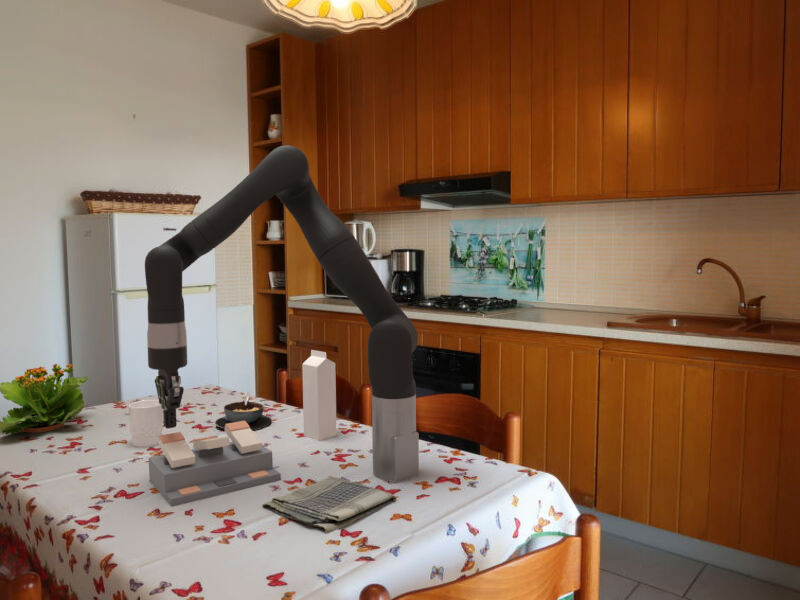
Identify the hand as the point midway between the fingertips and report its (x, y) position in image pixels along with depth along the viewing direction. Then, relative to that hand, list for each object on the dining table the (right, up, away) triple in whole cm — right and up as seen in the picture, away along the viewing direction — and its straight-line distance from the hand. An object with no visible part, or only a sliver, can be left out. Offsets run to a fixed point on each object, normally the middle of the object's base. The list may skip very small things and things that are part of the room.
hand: (170, 427), depth 127 cm
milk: (+27, -9, +30) cm, 41 cm away
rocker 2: (+8, -4, +1) cm, 9 cm away
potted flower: (-49, -9, +40) cm, 64 cm away
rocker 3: (+14, -3, +5) cm, 15 cm away
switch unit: (+9, -11, 0) cm, 14 cm away
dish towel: (+34, -13, -13) cm, 39 cm away
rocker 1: (+2, -4, -3) cm, 5 cm away
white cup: (-15, -10, +26) cm, 31 cm away
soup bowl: (+5, -8, +41) cm, 42 cm away
